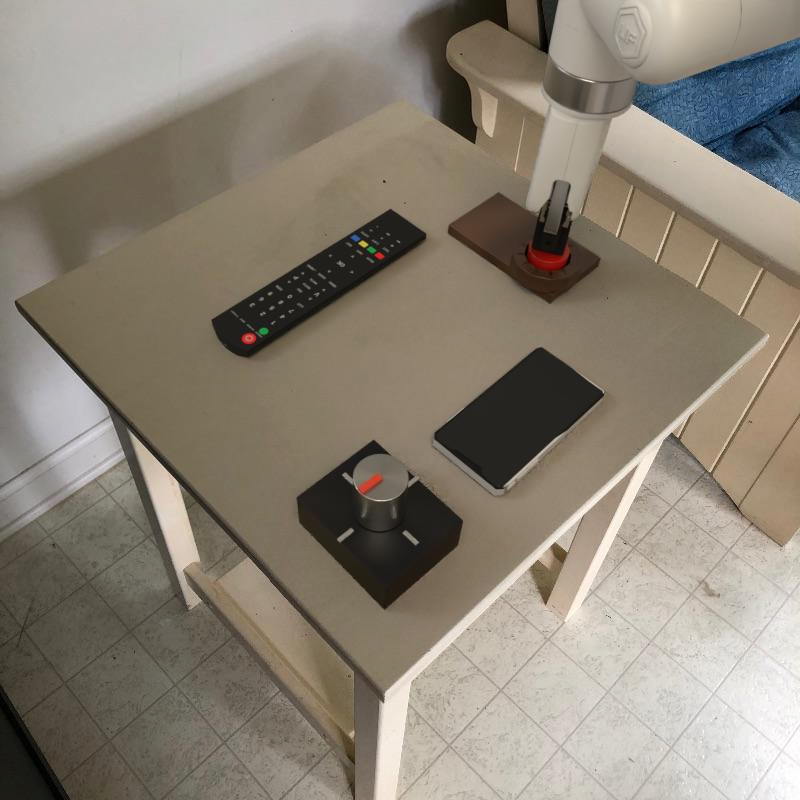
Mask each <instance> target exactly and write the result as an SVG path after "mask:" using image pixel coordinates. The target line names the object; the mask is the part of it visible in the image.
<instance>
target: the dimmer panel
mask: <svg viewBox="0 0 800 800" xmlns="http://www.w3.org/2000/svg"><path fill="white" fill-rule="evenodd" d="M374 454H387V455H390V456H393V455H392V454H391V453H390V452H389V451H387V450H386V449H385V448H384V447H383V446H382V445H381V444H380V443H379V442H377V440H375V439H372V440H371V441H370V442H368V443H367V444H365V445H364V446H363V447H361V448H360V449H359V450H357V452H355V453H353V454H352V455H351V456H349V457H348V458H347V459H345V460H344V461H342V463H340V464H339V465H337V466H336V467H335V468H333V469H332V470H331V471H330V472H328V473H327V474H325V475H324V476H322V477H321V478H320V479H319V480H318V481H317V482H315V483H314V484H312V485H311V486H309V487H307V489H306V490H304V491H303V492H301V493H300V494H298V496H296V506H297V513H298V521H299V524H300V525H301V526H302V527H303V528H304V529H305V530H306V531H307V532H308V533H309V535H311V536H312V537H313V539H315V540H316V541H317V542H318V543H319V545H320V546H321V547H322V548H324V550H325V551H326V552H328V554H329V555H330V556H331V557H332V558H333V559H334V560H335V561H336V562H337V563H338V564H339V565H340V566H341V567H342V568H343V569H344V570H345V571H346V573H347V574H349V575H350V576H351V577H352V578H353V580H355V581H356V583H358V584H359V586H360V587H361V588H362V589H363V590H364V591H365V592H366V593H367V594H368V595H369V596H370V597H371V598H372V599H373V600H374V601H375V602H376V603H377V604H378V605H379V607H381V608H382V609H383V610H387V609H388V608H389V607H390V606H391V605H392V604H393V603H394V602H395V601H396V600H397V599H399V598H400V597H401V596H402V595H404V593H406V592H407V591H408V590H409V589H410V588H411V587H412V586H413V585H415V584H416V583H417V582H418V581H419V580H420V579H421V578H423V577H424V576H425V575H426V574H427V573H428V572H430V570H432V569H433V568H434V567H435V566H437V565H438V564H439V563H440V562H441V561H442V560H443V559H444V558H446V556H448V555H449V554H450V553H451V552H452V551H453V550H454V549H456V548H457V547H458V546H459V543H460V538H461V533H462V529H463V524H464V519H462V518H461V517H460V516H459V515H457V513H456V512H455V511H453V510H452V509H451V508H450V507H449V506H448V505H446V504H445V502H444V501H442V500H441V499H440V498H439V497H438V496H437V495H436V494H435V493H434V492H432V491H431V489H429V488H428V487H427V486H426V485H425V484H423V482H421V481H420V480H421V478H420V477H419V476H418V475H417V474H416V475H414V474H412V472H410V470H409V469H407V471H408V475H409V482H408V493H407V504H406V513H405V516H404V518H403V520H402V521H401V523H400V524H399V525H397V526H396V527H395V528H393V529H390V530H387V531H381V532H378V531H372V530H369V529H367V528H365V527H363V526H362V525H361V524H360V523H359V522H358V521H357V520H356V518H355V516H354V513H353V472H354V469H355V467H356V466H357V464H358V463H359V462H360V461H361V460H363V459H364V458H366V457H368V456H371V455H374Z"/></svg>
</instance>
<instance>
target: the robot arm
mask: <svg viewBox="0 0 800 800" xmlns="http://www.w3.org/2000/svg"><path fill="white" fill-rule="evenodd" d="M551 31H552V32H551V35H550V36H551V37H550V42H549V47H548V52H547V57H546V61H545V65H544V66H545V68H544V71H543V77H542V81H541V87H540V89H541V93H542V96H543V98H544V99H545V101H546V102H547V103H548V109H547V112H546V115H545V119H544V123H543V128H542V131H541V135H540V139H539V143H538V144H539V145H538V149H537V152H536V158H535V160H534V161H535V162H534V167H533V172H532V176H531V180H530V183H529V187H528V192H527V195H526V200H525V205H524V206H525V209H526V210H527V211H529V212H534V213H538V212H539V213H538V215H537V217H538V219H537V224H536V228H535V232H534V237H533V241H532V246H531V247H532V249H534V250H538V251H542V252H546V253H550V254H554V255H559V256H562V255H563V254H564V251H565V247H566V243H567V240H568V237H570V232H571V228H572V225H573V221H574V220H576V219H578V218H579V215H580V213H581V210H582V209H583V205H584V203H585V201H586V198H587V196H588V193H589V190H590V187H591V185H592V182H593V180H594V176H595V174H596V171H597V168H598V165H599V163H600V159H601V157H602V153H603V150H604V147H605V144H606V140H607V138H608V134H609V132H610V128H611V124H612V121H613V119H615V118H618V117H620V116H622V115H624V114H626V112H628V111H629V110H630V108H631V107H632V105H633V104H634V103H633V102H634V99H635V95H636V92H637V89H638V85H639V82H640V83H642V84H645V85H652V86H658V85H659V86H660V85H666V84H670V83H674V82H678V81H680V80H683V79H687V78H689V77H692V76H694V75H697V74H700V73H703V72H707V71H708V70H712V69H714V68H716V67H719V66H722V65H725V64H727V63H731V62H733V61H736V60H739V59H742V58H745V57H748V56H752V55H754V54H757V53H761V52H764V51H767V50H769V49H772V48H775V47H778V46H781V45H783V44H785V43H788V42H791V41H793V40H797V39H798V38H800V0H558V2H557V6H556V11H555V17H554V21H553V26H552V30H551Z"/></svg>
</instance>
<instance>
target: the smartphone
mask: <svg viewBox="0 0 800 800" xmlns="http://www.w3.org/2000/svg"><path fill="white" fill-rule="evenodd" d="M605 394H606V391H605V390H604V389H603V388H601V387H600V386H599V385H597V384H596V383H594V382H593V381H591V380H590V379H589V378H587V377H586V376H585V375H583V374H582V373H580V372H578V371H577V370H576V369H574V368H573V367H571V365H568V364H567V363H566V362H564V361H563V360H561V359H560V358H558V357H557V356H556V355H554V354H553V353H551V352H550V351H548V350H547V349H546V348H545V347H542V346H540V347H537V348H535V349H534V350H533V351H531V352H529V354H527V355H526V356H525V357H524V358H523V359H521V360H520V361H519V362H518V363H516V364H515V365H514V366H513V367H512V368H510V369H509V370H507V372H506V373H504V374H503V375H502V376H501V377H499V378H498V379H497V380H496V381H495V382H494V383H492V384H491V385H490V386H489V387H487V388H486V389H485V390H484V391H483V392H482V393H481V394H479V395H478V396H477V397H476V398H474V399H473V400H472V401H470V403H468V404H467V405H466V406H464V407H462V408H461V409H460V410H459V411H457V412H456V413H455V414H454V415H452V417H450V418H449V419H448V420H447V421H446V422H445V423H444V424H443V425H442V426H440V427H439V428H438V429H437V430H436V431H435V432H434V433H433V438H432V446H433V447H434V448H435V449H436V450H438V451H439V452H440V453H441V454H442V455H444V456H445V457H446V458H448V459H449V461H451V462H452V463H453V464H455V465H456V466H457V467H458V468H460V469H461V470H462V471H463V472H465V473H466V474H467V475H468V476H470V477H471V478H472V479H473V480H474V481H476V483H478V484H479V485H481V486H482V487H483V488H484V489H485V490H487V491H488V492H489V493H490V494H492V495H493V496H494V497H497V496H498V497H499V496H501V497H502V496H503V495H504V494H506V493H507V492H509V490H511V489H512V488H513V487H514V486H515V485H516V484H518V482H520V481H521V480H523V478H524V477H525V476H526V475H527V474H528V473H529V472H531V471H532V470H533V469H534V468H535V467H536V466H537V465H538V464H539V462H540V461H541V460H542V459H543V458H544V457H545V456H546V455H547V454H548V453H549V452H550V451H552V450H553V449H554V448H555V447H556V446H557V445H558V444H559V443H560V442H561V441H562V440H563V439H565V438H566V437H567V436H568V435H569V434H570V433H571V432H572V431H573V430H574V429H575V428H576V427H577V426H578V425H580V424H581V423H582V421H584V420H585V419H586V418H587V417H588V416H589V415H590V414H592V412H593V411H595V409H597V407H599V406H600V405H601V404H602V402H603V400H604V397H605Z"/></svg>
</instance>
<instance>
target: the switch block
mask: <svg viewBox="0 0 800 800" xmlns="http://www.w3.org/2000/svg"><path fill="white" fill-rule="evenodd" d="M537 219H538V215H535V214H534V213H533V212H531V211H528V210H527V208H525V207H523V206H521V205H520V204H518V203H517V202H514V201H513V200H512V199H510V198H509V197H507V196H505V195H504V194H503V193H501V192H497V193H495V194H494V195H491V196H490V197H489V198H487V199H486V200H484V201H483V202H481V203H479V204H478V205H476V206H475V207H473V208H472V209H470V210H469V211H467V212H466V213H464V214H463V215H461V216H460V217H458V218H457V219H455V220H453V221H452V222H451V223H449V224H448V228H447V234H448V235H450V236H451V237H452V238H454V239H455V240H457V241H458V242H460V243H461V244H463V245H464V246H465V247H467V248H468V249H470V250H471V251H473V252H474V253H476V254H477V255H478V256H480V257H481V258H482V259H484V260H485V261H487V262H489V264H492V265H493V266H494V267H496V268H497V269H499V270H500V271H502V272H503V273H504V274H506V275H507V276H509V277H510V278H512V279H513V280H515V281H516V282H517V283H519V284H520V285H522V286H523V287H525V289H528V290H529V291H531V292H532V293H533V294H535V295H536V296H538V297H539V298H541V299H542V300H544V301H545V302H546V303H547V304H549V305H550V304H552V303H553V302H555V301H556V300H557V299H558V298H560V297H561V296H562V295H564V294H565V293H566V292H568V290H570V289H571V288H572V287H574V286H575V285H576V284H578V283H579V282H580V281H582V280H583V279H585V277H587V276H588V275H590V274H591V272H593V271H595V269H597V268H598V267H599V266H600V263H601V260H602V257H601V256H599V255H597V254H596V253H595V252H593V251H591V250H589V248H587V247H585V246H584V245H582V244H581V243H579V242H578V241H576V240H574V239H572V238H571V237H570V236H568V240H567V245H568V247H569V250H570V253H569V257H568V260H567V264H566V267H564V268H563V269H561V270H555V271H547V270H542V269H538V268H536V267H535V266H533V265H532V264H530V263H529V262H528V260H527V253H528V248H529V244H530V242H531V241H532V240H533V237H534V232H535V228H536V224H537Z"/></svg>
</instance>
